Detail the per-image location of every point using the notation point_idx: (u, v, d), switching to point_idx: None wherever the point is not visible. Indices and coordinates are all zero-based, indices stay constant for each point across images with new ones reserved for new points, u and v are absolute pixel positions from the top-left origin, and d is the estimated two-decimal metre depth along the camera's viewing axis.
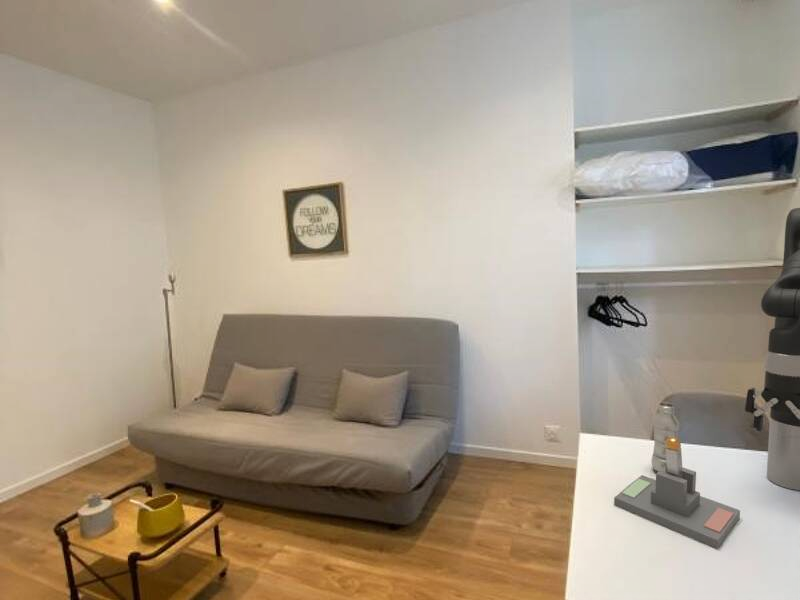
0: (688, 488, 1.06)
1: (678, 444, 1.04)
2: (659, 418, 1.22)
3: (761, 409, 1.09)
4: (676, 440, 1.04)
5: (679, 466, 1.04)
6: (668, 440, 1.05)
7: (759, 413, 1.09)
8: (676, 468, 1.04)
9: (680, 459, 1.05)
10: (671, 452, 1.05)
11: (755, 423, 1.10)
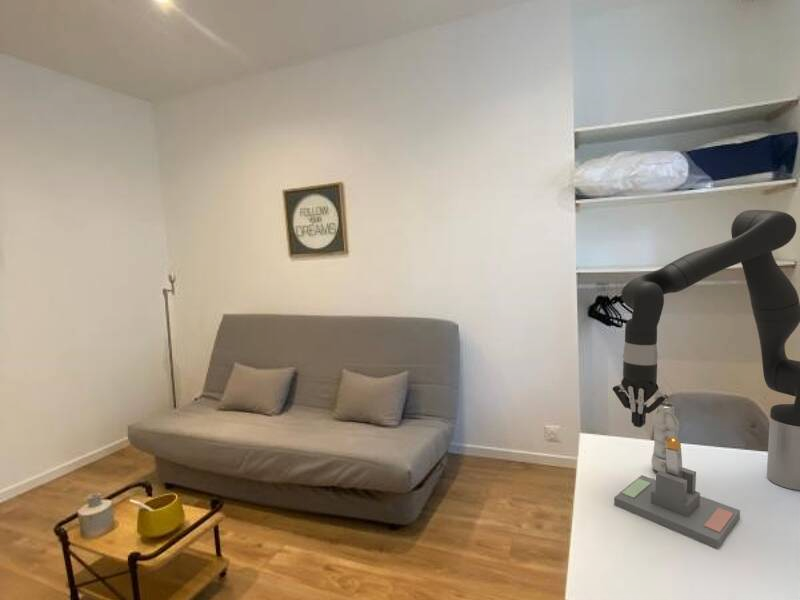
0: (688, 488, 1.06)
1: (678, 444, 1.04)
2: (659, 418, 1.22)
3: (631, 403, 1.11)
4: (676, 440, 1.04)
5: (679, 466, 1.04)
6: (668, 440, 1.05)
7: (635, 409, 1.10)
8: (676, 468, 1.04)
9: (680, 459, 1.05)
10: (671, 452, 1.05)
11: (632, 418, 1.12)
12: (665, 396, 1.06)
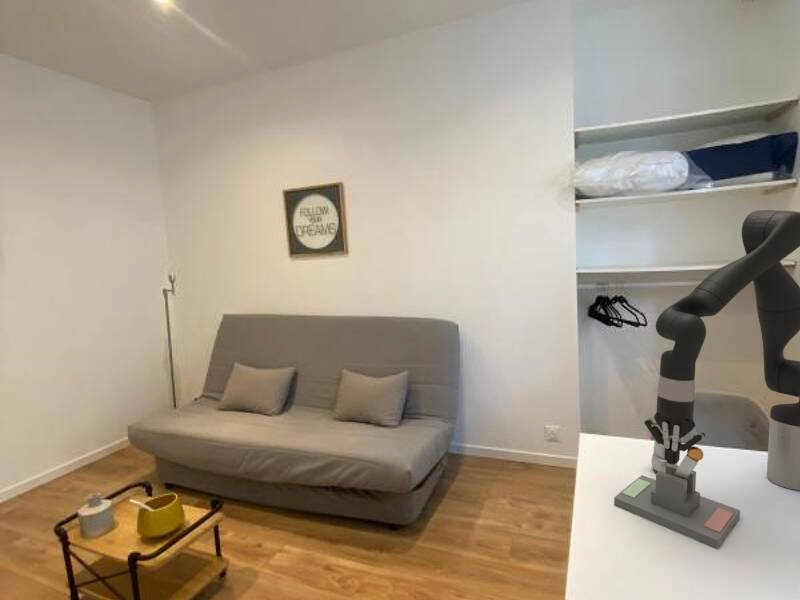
0: (688, 488, 1.06)
1: (701, 457, 1.00)
2: None
3: (665, 439, 1.05)
4: (701, 452, 1.01)
5: (689, 473, 1.03)
6: (693, 449, 1.01)
7: (669, 445, 1.05)
8: (686, 474, 1.03)
9: (693, 467, 1.03)
10: (690, 461, 1.02)
11: (666, 455, 1.06)
12: (702, 434, 1.01)
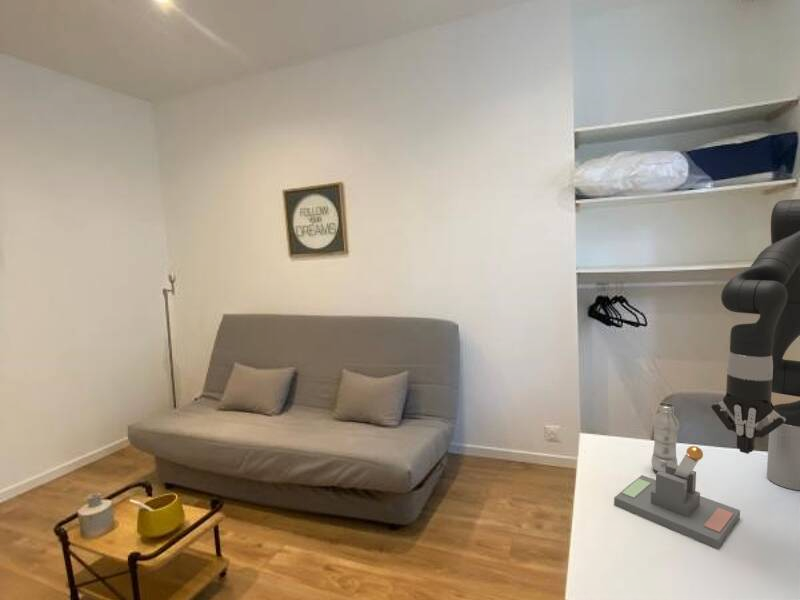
0: (688, 488, 1.06)
1: (701, 456, 1.00)
2: (659, 418, 1.22)
3: (738, 424, 0.94)
4: (700, 452, 1.01)
5: (689, 473, 1.03)
6: (692, 449, 1.01)
7: (742, 432, 0.93)
8: (686, 474, 1.03)
9: (693, 467, 1.03)
10: (690, 461, 1.02)
11: (738, 443, 0.94)
12: (783, 417, 0.89)
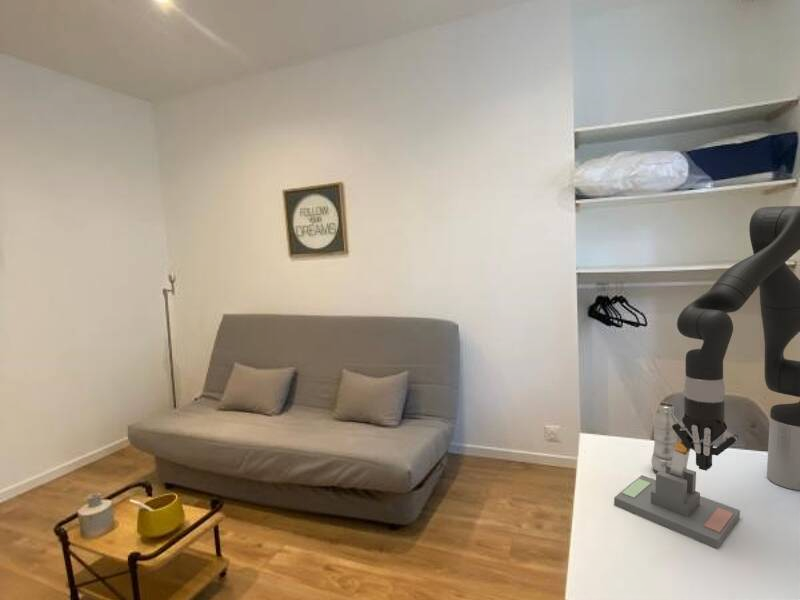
0: (688, 488, 1.06)
1: (688, 448, 1.02)
2: (659, 418, 1.22)
3: (696, 443, 1.00)
4: None
5: (683, 469, 1.04)
6: (678, 443, 1.03)
7: (700, 450, 1.00)
8: (680, 470, 1.03)
9: (686, 462, 1.04)
10: (679, 455, 1.03)
11: (697, 460, 1.01)
12: (736, 436, 0.96)
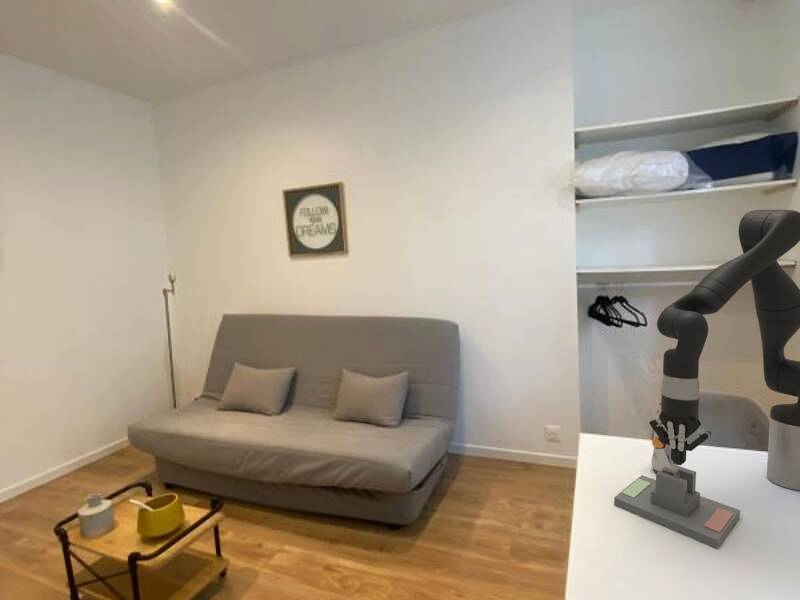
0: (688, 488, 1.06)
1: None
2: None
3: (671, 439, 1.04)
4: None
5: (671, 464, 1.06)
6: (653, 440, 1.08)
7: (675, 445, 1.04)
8: (669, 466, 1.05)
9: (670, 457, 1.06)
10: (660, 451, 1.07)
11: (672, 455, 1.05)
12: (708, 433, 0.99)
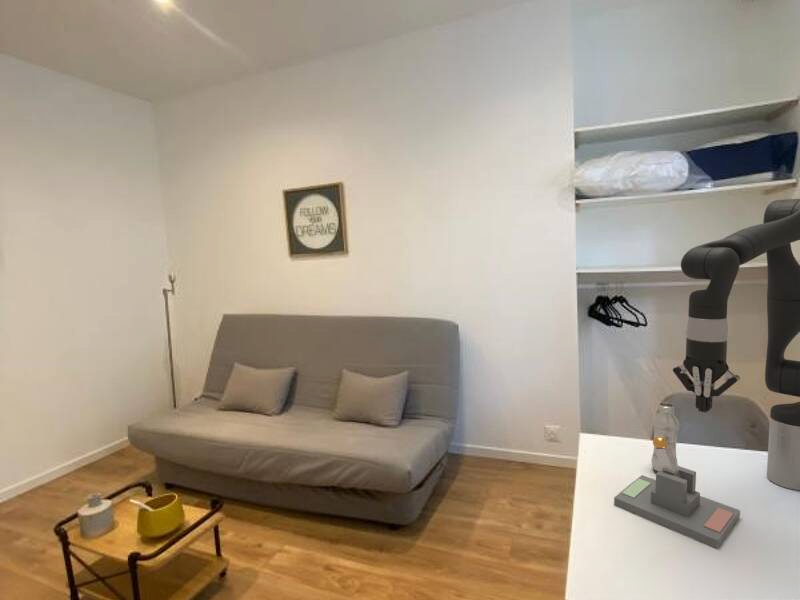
0: (688, 488, 1.06)
1: (664, 441, 1.06)
2: (659, 418, 1.22)
3: (696, 385, 0.99)
4: (661, 438, 1.07)
5: (672, 464, 1.06)
6: (654, 440, 1.08)
7: (700, 392, 0.99)
8: (669, 466, 1.05)
9: (671, 457, 1.06)
10: (661, 451, 1.06)
11: (697, 403, 1.00)
12: (737, 377, 0.94)
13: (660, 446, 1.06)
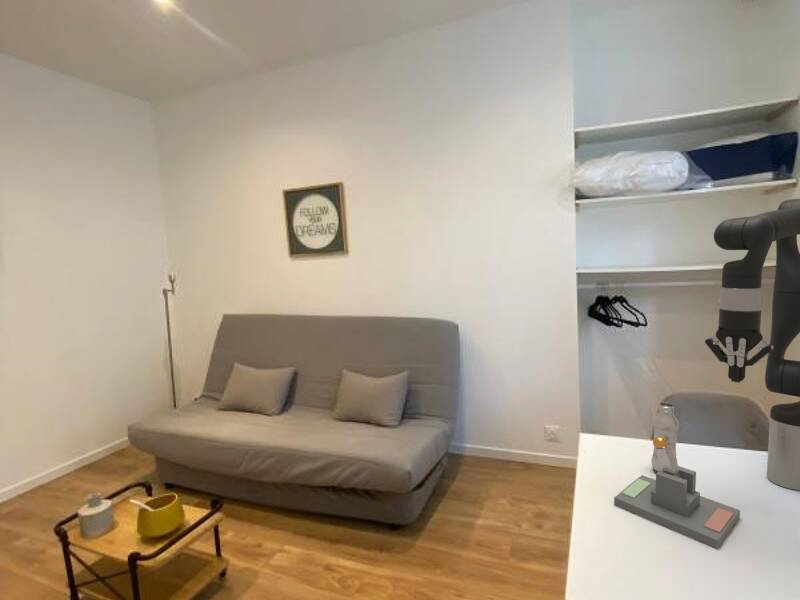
0: (688, 488, 1.06)
1: (664, 441, 1.06)
2: (659, 418, 1.22)
3: (729, 355, 1.00)
4: (661, 438, 1.07)
5: (672, 464, 1.06)
6: (654, 440, 1.08)
7: (734, 362, 1.00)
8: (669, 466, 1.05)
9: (671, 457, 1.06)
10: (661, 451, 1.06)
11: (730, 373, 1.01)
12: (771, 345, 0.95)
13: (660, 446, 1.06)
